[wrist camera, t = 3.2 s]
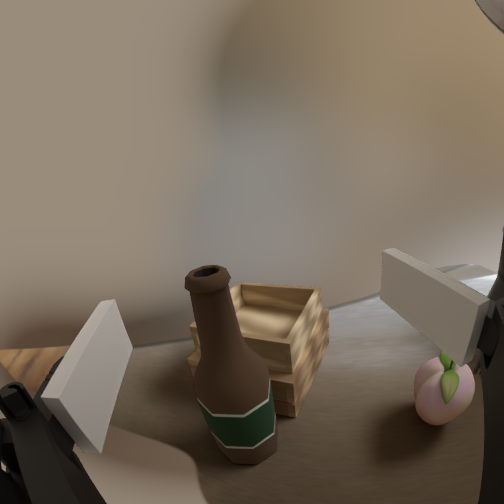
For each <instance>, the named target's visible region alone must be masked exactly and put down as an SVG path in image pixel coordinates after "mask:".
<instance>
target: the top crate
mask: <svg viewBox="0 0 504 504" xmlns="http://www.w3.org/2000/svg"><path fill="white" fill-rule="evenodd" d="M230 293H231V297H232V301H233V305H234V308H235V312H236V316H237V320H238V323H239V327H240V330H241V334H242V336H243V338H244V341H245V343H246V345H247V346H248V347H249V348H250V349H252V350H253V351H254V352H256V353H257V354H258V355H260V357H261V358H262V360H263V361H264V362H265V364H266V365H267V368H268V369H269V370H274V371H280V372H286V373H291V374H293V372H294V370H295V368H296V366H297V364H298V362H299V360H300V359H301V357H302V355H303V353H304V351H305V349H306V347H307V344H308V342H309V340H310V338H311V336H312V334H313V332H314V330H315V328H316V326H317V324H318V321H319V319H320V317H321V315H322V298H321V288H320V287H304V286H288V285H273V284H258V283H244V282H239V283H237V285H235V286H234V287H233V288H232V289H231V290H230ZM189 328H190V331H191V334H192V338H193V341H194V344H195V347H196V351H197V353H199V354H201V350H200V341H199V337H198V332H197V327H196V322H195V321H194V322H193V323H192V324H191V325H190V326H189Z"/></svg>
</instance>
